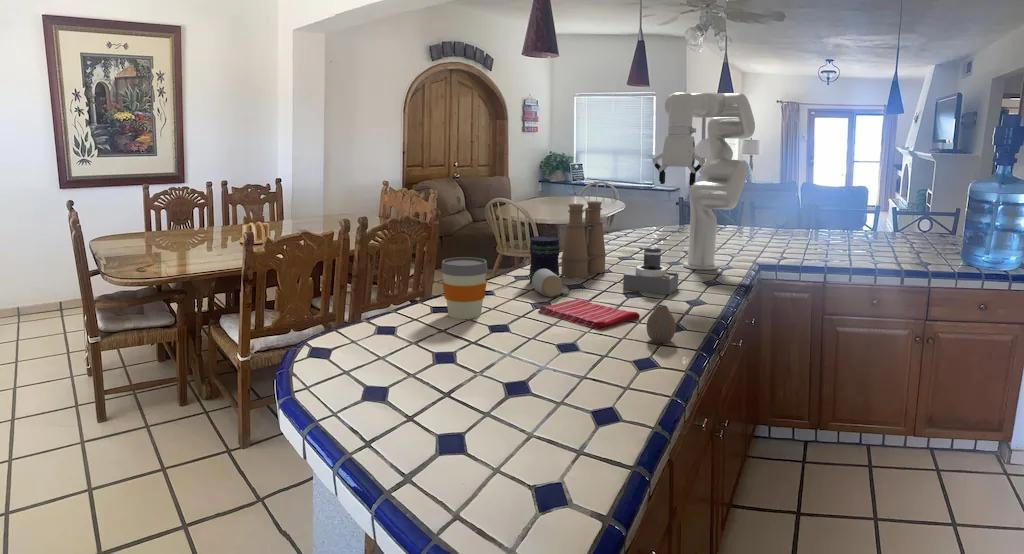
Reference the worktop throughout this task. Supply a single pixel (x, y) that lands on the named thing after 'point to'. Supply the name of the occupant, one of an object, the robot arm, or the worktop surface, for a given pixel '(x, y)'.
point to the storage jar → (544, 254)
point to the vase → (661, 325)
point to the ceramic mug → (548, 283)
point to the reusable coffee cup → (464, 286)
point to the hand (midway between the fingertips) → (676, 184)
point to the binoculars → (584, 242)
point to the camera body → (651, 280)
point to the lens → (652, 258)
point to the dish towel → (589, 314)
